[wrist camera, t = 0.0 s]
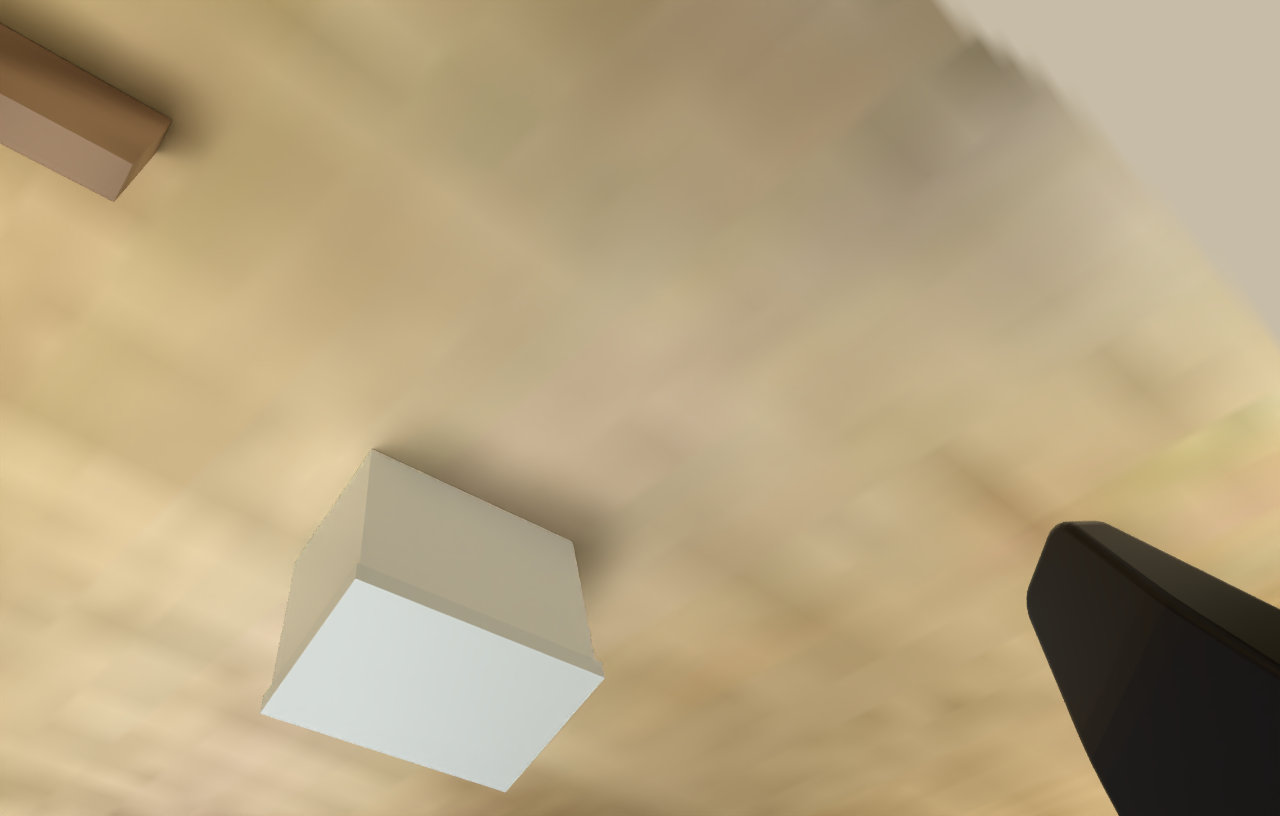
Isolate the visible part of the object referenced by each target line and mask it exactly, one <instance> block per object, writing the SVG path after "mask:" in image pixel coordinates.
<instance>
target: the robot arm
mask: <svg viewBox="0 0 1280 816" xmlns="http://www.w3.org/2000/svg"><path fill="white" fill-rule="evenodd" d="M1027 609H1028V614H1029V618H1030V620H1031V623H1032V625H1033V627H1034V630H1035V632H1036V635H1037V637H1038V639H1039V642H1040V644H1041V647H1042V649H1043V651H1044V654H1045V656H1046V659H1047V661H1048V663H1049V666H1050V668H1051V670H1052V673H1053V675H1054V678H1055V680H1056V682H1057V685H1058V687H1059V690H1060V692H1061V694H1062V697H1063V699H1064V702H1065V704H1066V706H1067V709H1068V711H1069V713H1070V716H1071V718H1072V721H1073V723H1074V725H1075V728H1076V730H1077V733H1078V735H1079V737H1080V740H1081V742H1082V744H1083V746H1084V748H1085V751H1086V753H1087V755H1088V757H1089V760H1090V762H1091V764H1092V766H1093V768H1094V770H1095V772H1096V774H1097V776H1098V778H1099V779H1100V781H1101V783H1102V785H1103V787H1104V789H1105V791H1106V793H1107V795H1108V797H1109V798H1110V800H1111V802H1112V804H1113V806H1114V808H1115V810H1116V811H1117V813H1118V815H1119V816H1280V609H1278V608H1276V607H1274V606H1272V605H1270V604H1268V603H1266V602H1264V601H1262V600H1260V599H1258V598H1256V597H1254V596H1252V595H1250V594H1248V593H1246V592H1244V591H1242V590H1240V589H1238V588H1236V587H1234V586H1232V585H1230V584H1228V583H1226V582H1224V581H1222V580H1220V579H1218V578H1216V577H1214V576H1212V575H1210V574H1208V573H1206V572H1204V571H1202V570H1200V569H1198V568H1196V567H1194V566H1192V565H1189V564H1187V563H1185V562H1183V561H1181V560H1179V559H1177V558H1175V557H1173V556H1171V555H1169V554H1167V553H1165V552H1163V551H1161V550H1159V549H1157V548H1155V547H1153V546H1151V545H1149V544H1147V543H1145V542H1143V541H1141V540H1139V539H1137V538H1135V537H1133V536H1131V535H1129V534H1127V533H1125V532H1123V531H1121V530H1119V529H1117V528H1115V527H1113V526H1111V525H1109V524H1106V523H1104V522H1099V521H1070V522H1062V523H1060V524H1057V525H1056V526H1055V527H1054V528H1053V529H1052V530H1051V531H1050V533H1049V535H1048V538H1047V540H1046V543H1045V545H1044V548H1043V551H1042V553H1041V556H1040V558H1039V561H1038V564H1037V566H1036V569H1035V571H1034V574H1033V577H1032V579H1031V582H1030V584H1029V587H1028V591H1027Z"/></svg>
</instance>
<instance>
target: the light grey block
mask: <svg viewBox="0 0 1280 816" xmlns="http://www.w3.org/2000/svg"><path fill="white" fill-rule="evenodd" d="M604 678H605V676H604V671H603V666H602V662H600V661H598V660H596V659H595V657H594V651H593V646H592V641H591V636H590V630H589V625H588V620H587V614H586V609H585V604H584V599H583V593H582V588H581V583H580V577H579V572H578V567H577V562H576V556H575V551H574V546H573V542H572V541H570V540H568V539H566V538H564V537H562V536H559V535H557V534H555V533H553V532H551V531H549V530H546V529H544V528H542V527H540V526H538V525H536V524H533V523H531V522H529V521H527V520H525V519H523V518H520V517H518V516H516V515H514V514H512V513H510V512H507V511H505V510H503V509H501V508H499V507H497V506H494V505H492V504H490V503H488V502H486V501H484V500H481V499H479V498H477V497H475V496H473V495H471V494H468V493H466V492H464V491H462V490H460V489H458V488H455V487H453V486H451V485H449V484H447V483H445V482H442V481H440V480H438V479H436V478H434V477H432V476H429V475H427V474H425V473H423V472H421V471H419V470H416V469H414V468H412V467H410V466H408V465H406V464H403V463H401V462H399V461H397V460H395V459H393V458H390V457H388V456H386V455H384V454H382V453H380V452H377V451H375V450H373V449H371V451H370V452H369V454H368V455H367V457H366V458H365V460H364V461H363V463H362V464H361V466H360V467H359V469H358V470H357V471H356V473H355V474H354V476H353V477H352V479H351V480H350V482H349V483H348V485H347V486H346V488H345V489H344V491H343V492H342V494H341V495H340V497H339V498H338V500H337V501H336V503H335V504H334V506H333V507H332V508H331V510H330V511H329V513H328V514H327V516H326V517H325V519H324V520H323V522H322V523H321V525H320V526H319V528H318V529H317V531H316V532H315V534H314V535H313V537H312V538H311V540H310V541H309V543H308V544H307V546H306V547H305V548H304V550H303V551H302V553H301V554H300V556H299V557H298V559H297V560H296V562H295V566H294V571H293V576H292V582H291V587H290V592H289V597H288V602H287V607H286V613H285V618H284V623H283V628H282V633H281V639H280V644H279V649H278V654H277V659H276V665H275V670H274V675H273V680H272V684H271V686H270V687H269V689H268V690H267V692H266V693H265V694H264V696H263V700H262V705H261V710H260V714H263V715H266V716H269V717H272V718H275V719H278V720H281V721H285V722H288V723H291V724H294V725H297V726H300V727H303V728H306V729H309V730H313V731H316V732H319V733H322V734H325V735H328V736H331V737H334V738H338V739H341V740H344V741H347V742H350V743H353V744H356V745H359V746H362V747H366V748H369V749H372V750H375V751H378V752H381V753H384V754H387V755H390V756H394V757H397V758H400V759H403V760H406V761H409V762H412V763H415V764H419V765H422V766H425V767H428V768H431V769H434V770H437V771H440V772H443V773H447V774H450V775H453V776H456V777H459V778H462V779H465V780H468V781H472V782H475V783H478V784H481V785H484V786H487V787H490V788H493V789H496V790H500V791H503V792H506V791H507V790H508V789H509V788H510V787H511V785H512V784H513V783H514V782H515V781H516V780H517V779H518V777H519V776H520V775H521V774H522V773H523V772H524V770H525V769H526V768H527V767H528V766H529V765H530V764H531V762H532V761H533V760H534V759H535V758H536V757H537V755H538V754H539V753H540V752H541V751H542V750H543V749H544V747H545V746H546V745H547V744H548V743H549V742H550V740H551V739H552V738H553V737H554V736H555V735H556V734H557V732H558V731H559V730H560V729H561V728H562V727H563V725H564V724H565V723H566V722H567V721H568V720H569V719H570V717H571V716H572V715H573V714H574V713H575V712H576V710H577V709H578V708H579V707H580V706H581V705H582V704H583V702H584V701H585V700H586V699H587V698H588V697H589V695H590V694H591V693H592V692H593V691H594V690H595V689H596V687H597V686H598V685H599V684H600V683H601V682H602V680H603V679H604Z"/></svg>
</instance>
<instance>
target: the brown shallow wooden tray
mask: <svg viewBox="0 0 1280 816" xmlns="http://www.w3.org/2000/svg"><path fill="white" fill-rule="evenodd" d="M171 122H172V120H171V119H169V118H167V117H165V116H164V115H162V114H160V113H158V112H157V111H155V110H153V109H151V108H149V107H148V106H146V105H144V104H142V103H141V102H139V101H137V100H135V99H133V98H132V97H130V96H128V95H126V94H125V93H123V92H121V91H119V90H118V89H116V88H114V87H112V86H110V85H109V84H107V83H105V82H103V81H102V80H100V79H98V78H96V77H94V76H93V75H91V74H89V73H87V72H86V71H84V70H82V69H80V68H78V67H77V66H75V65H73V64H71V63H70V62H68V61H66V60H64V59H63V58H61V57H59V56H57V55H55V54H54V53H52V52H50V51H48V50H47V49H45V48H43V47H41V46H39V45H38V44H36V43H34V42H32V41H31V40H29V39H27V38H25V37H23V36H22V35H20V34H18V33H16V32H15V31H13V30H11V29H9V28H8V27H6V26H4V25H2V24H0V144H2V145H4V146H6V147H8V148H10V149H12V150H14V151H16V152H18V153H20V154H22V155H24V156H26V157H28V158H29V159H31V160H33V161H35V162H37V163H39V164H41V165H43V166H45V167H47V168H49V169H51V170H53V171H55V172H57V173H59V174H61V175H62V176H64V177H66V178H68V179H70V180H72V181H74V182H76V183H78V184H80V185H82V186H84V187H86V188H88V189H90V190H92V191H93V192H95V193H97V194H99V195H101V196H103V197H105V198H107V199H109V200H111V201H113V202H114V201H115V200H116V199H117V198H118V197H119V195H120V194H121V193H122V192H123V191H124V190H125V188H126V187H127V186H128V185H129V184H130V183H131V181H132V180H133V179H134V178H135V177H136V176H137V174H138V173H139V172H140V171H141V170H142V168H143V167H144V166H145V165H146V164H147V163H148V161H149V160H150V159H151V158H152V157H153V156H154V154H155V153H156V151H157V149H158V147H159V145H160V143H161V141H162V139H163V137H164V135H165V133H166V131H167V129H168V127H169V126H170V124H171Z"/></svg>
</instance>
